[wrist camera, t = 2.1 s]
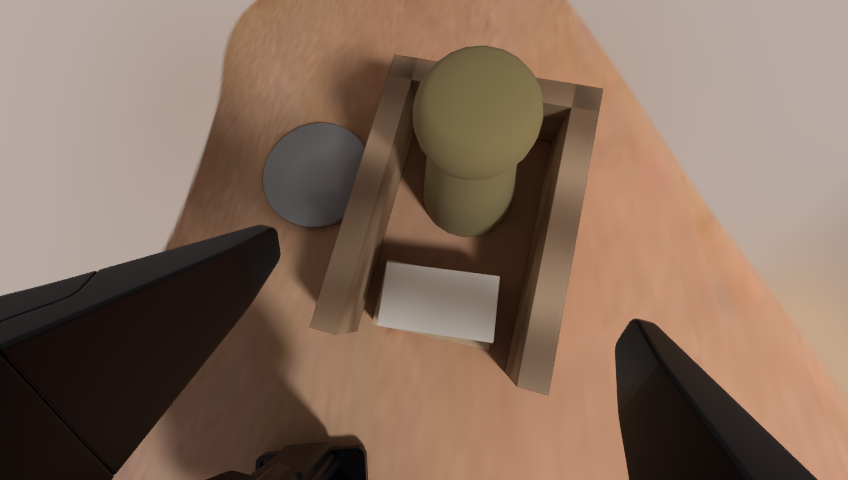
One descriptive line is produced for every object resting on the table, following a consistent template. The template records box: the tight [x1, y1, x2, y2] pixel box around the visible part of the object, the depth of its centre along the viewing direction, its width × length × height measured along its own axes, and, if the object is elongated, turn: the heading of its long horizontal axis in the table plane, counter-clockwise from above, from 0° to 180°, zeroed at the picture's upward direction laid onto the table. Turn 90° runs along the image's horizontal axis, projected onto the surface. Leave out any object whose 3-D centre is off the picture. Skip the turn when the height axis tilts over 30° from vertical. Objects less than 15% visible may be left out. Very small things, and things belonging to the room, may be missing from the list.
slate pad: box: [263, 123, 365, 228], centre depth 24 cm, size 8×8×1 cm
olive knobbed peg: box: [413, 46, 543, 237], centre depth 18 cm, size 6×6×11 cm
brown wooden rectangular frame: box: [309, 54, 603, 395], centre depth 21 cm, size 17×12×4 cm
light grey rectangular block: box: [372, 259, 500, 350], centre depth 20 cm, size 4×7×3 cm, turn 78°
